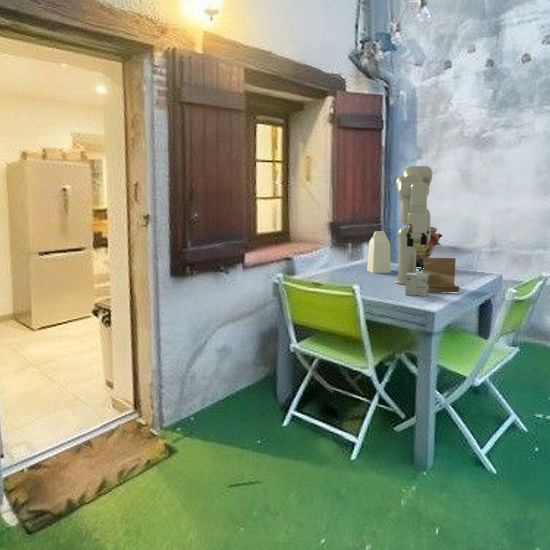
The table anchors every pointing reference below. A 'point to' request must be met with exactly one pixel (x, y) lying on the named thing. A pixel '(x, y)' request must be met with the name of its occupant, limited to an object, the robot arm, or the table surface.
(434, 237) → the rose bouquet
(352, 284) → the table surface
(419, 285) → the light bulb box
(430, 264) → the cleat board
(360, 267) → the table surface
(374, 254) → the milk
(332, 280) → the table surface
